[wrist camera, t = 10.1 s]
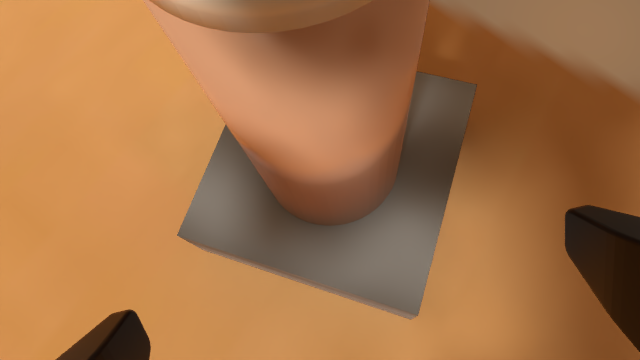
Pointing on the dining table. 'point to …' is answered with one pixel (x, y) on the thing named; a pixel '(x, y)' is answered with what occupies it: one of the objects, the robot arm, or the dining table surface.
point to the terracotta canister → (307, 91)
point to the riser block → (352, 238)
